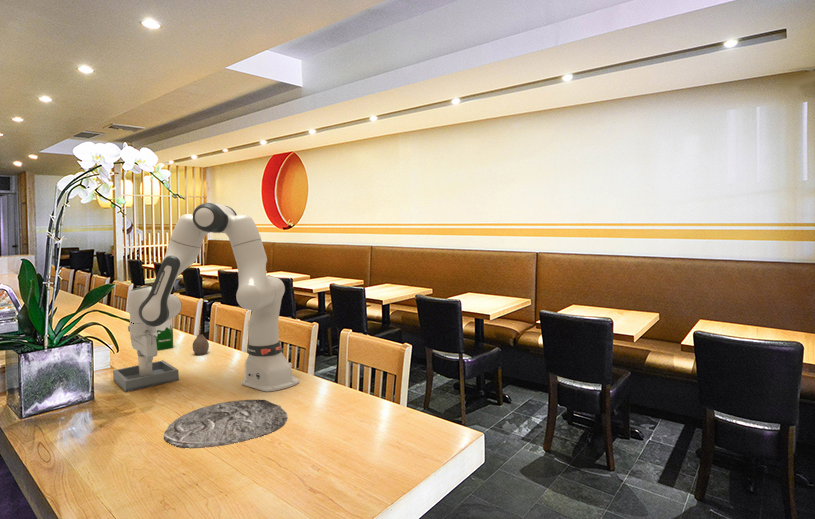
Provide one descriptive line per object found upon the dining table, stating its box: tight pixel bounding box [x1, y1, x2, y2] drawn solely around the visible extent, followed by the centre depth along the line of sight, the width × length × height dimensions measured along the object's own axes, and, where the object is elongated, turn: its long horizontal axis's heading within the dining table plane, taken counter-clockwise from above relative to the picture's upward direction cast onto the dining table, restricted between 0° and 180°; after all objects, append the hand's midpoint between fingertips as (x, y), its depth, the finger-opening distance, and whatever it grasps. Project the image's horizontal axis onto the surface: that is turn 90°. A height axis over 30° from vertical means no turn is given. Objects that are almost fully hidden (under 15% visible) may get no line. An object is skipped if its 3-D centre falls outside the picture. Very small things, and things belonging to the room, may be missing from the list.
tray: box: [112, 360, 180, 393], centre depth 182 cm, size 18×18×4 cm
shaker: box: [137, 350, 153, 377], centre depth 182 cm, size 5×5×11 cm
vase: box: [192, 334, 210, 356], centre depth 218 cm, size 7×7×9 cm
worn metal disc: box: [163, 399, 289, 449], centre depth 144 cm, size 33×35×1 cm
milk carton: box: [153, 318, 174, 351], centre depth 229 cm, size 9×9×20 cm
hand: (145, 364), depth 182 cm, fingers open, 8 cm apart
